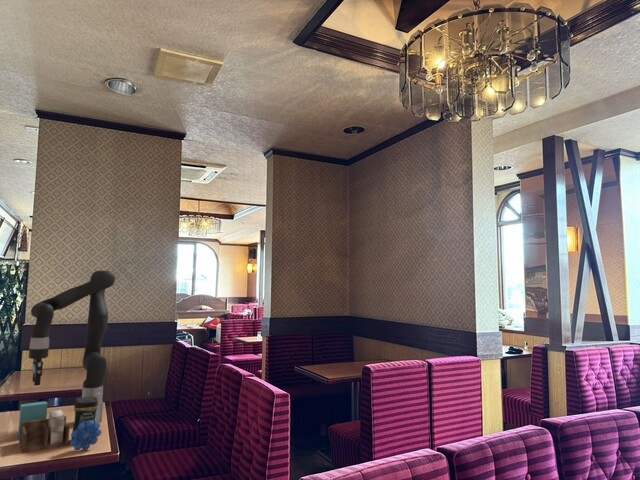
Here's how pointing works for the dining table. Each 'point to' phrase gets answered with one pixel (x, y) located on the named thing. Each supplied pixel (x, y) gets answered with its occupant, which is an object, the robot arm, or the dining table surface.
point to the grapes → (85, 435)
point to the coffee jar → (85, 410)
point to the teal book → (32, 412)
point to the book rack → (44, 433)
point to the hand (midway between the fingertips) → (36, 383)
